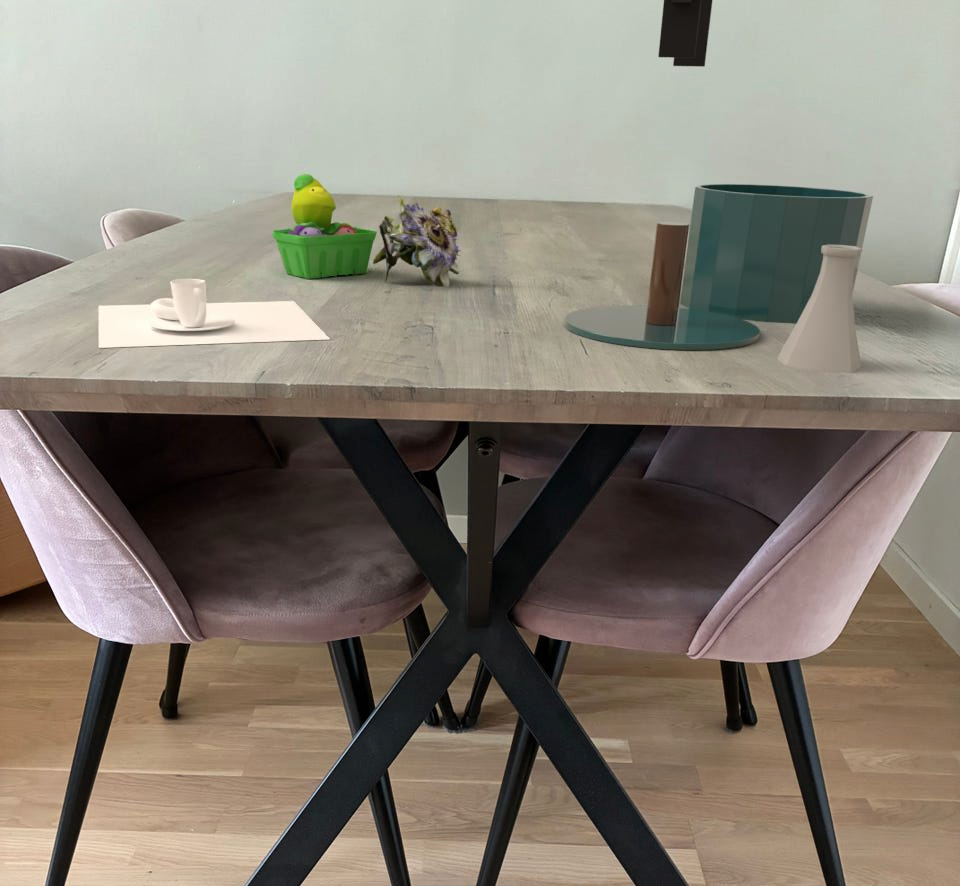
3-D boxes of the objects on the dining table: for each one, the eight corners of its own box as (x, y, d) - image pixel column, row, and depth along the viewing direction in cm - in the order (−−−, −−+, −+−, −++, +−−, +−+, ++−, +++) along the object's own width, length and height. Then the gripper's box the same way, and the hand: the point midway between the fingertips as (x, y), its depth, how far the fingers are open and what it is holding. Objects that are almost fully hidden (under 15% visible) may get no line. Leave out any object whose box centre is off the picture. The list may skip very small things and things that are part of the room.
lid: (717, 317, 104) (732, 215, 99) (790, 357, 87) (812, 237, 82) (546, 316, 101) (553, 211, 96) (588, 356, 85) (599, 233, 80)
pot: (802, 298, 117) (823, 186, 111) (876, 329, 101) (906, 199, 95) (659, 297, 114) (673, 182, 108) (712, 328, 98) (732, 195, 92)
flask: (859, 364, 86) (886, 245, 81) (861, 383, 80) (891, 255, 75) (776, 356, 87) (797, 239, 83) (772, 373, 81) (795, 248, 76)
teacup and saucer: (145, 318, 93) (139, 274, 91) (229, 316, 95) (225, 272, 93) (149, 337, 85) (143, 289, 83) (239, 334, 88) (235, 287, 86)
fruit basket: (305, 281, 115) (299, 178, 110) (266, 272, 121) (259, 173, 116) (380, 274, 122) (379, 177, 117) (340, 265, 128) (337, 172, 122)
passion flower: (441, 334, 117) (440, 258, 106) (359, 310, 118) (350, 232, 108) (471, 270, 122) (474, 191, 111) (392, 247, 123) (386, 167, 112)
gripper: (681, -228, 80) (652, 68, 90) (650, -355, 58) (617, 52, 69) (773, -232, 78) (734, 69, 88) (776, -364, 57) (723, 53, 67)
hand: (683, 62), depth 78 cm, fingers open, 13 cm apart
